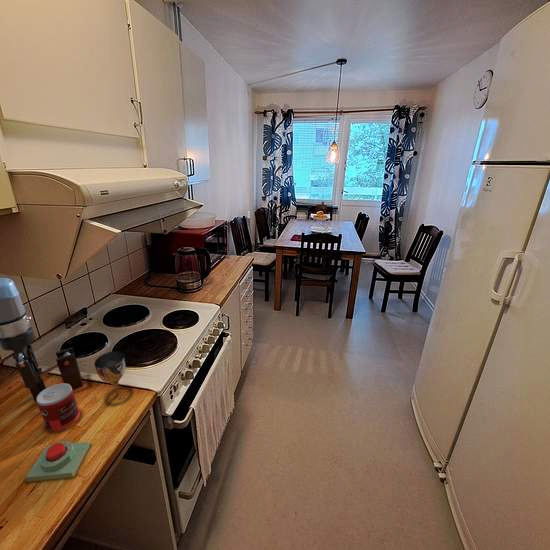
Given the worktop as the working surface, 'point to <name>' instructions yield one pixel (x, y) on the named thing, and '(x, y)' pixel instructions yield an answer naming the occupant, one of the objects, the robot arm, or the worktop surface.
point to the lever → (50, 368)
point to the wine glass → (111, 368)
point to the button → (55, 452)
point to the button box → (58, 463)
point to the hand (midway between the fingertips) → (40, 394)
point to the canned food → (58, 406)
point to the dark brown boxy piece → (69, 368)
